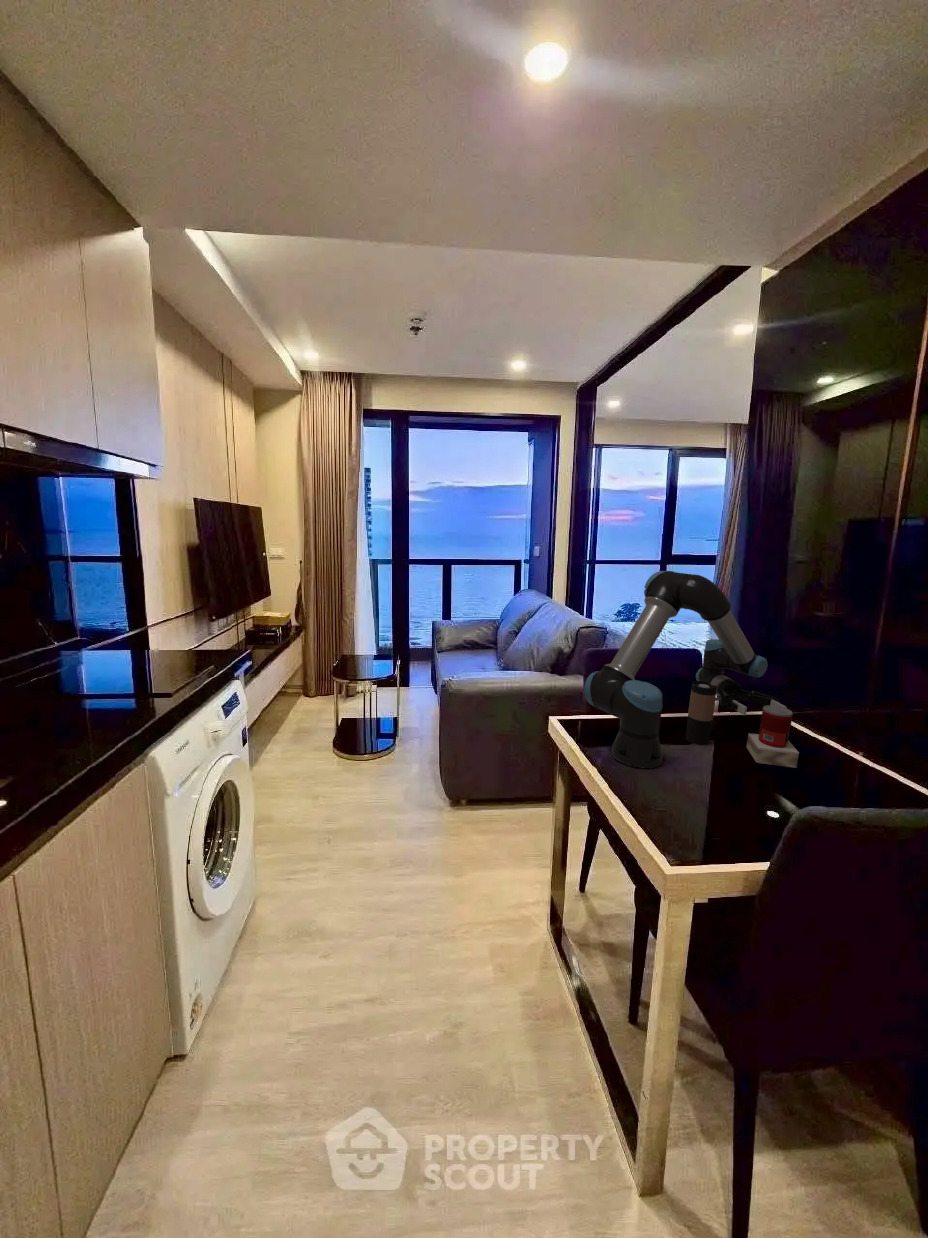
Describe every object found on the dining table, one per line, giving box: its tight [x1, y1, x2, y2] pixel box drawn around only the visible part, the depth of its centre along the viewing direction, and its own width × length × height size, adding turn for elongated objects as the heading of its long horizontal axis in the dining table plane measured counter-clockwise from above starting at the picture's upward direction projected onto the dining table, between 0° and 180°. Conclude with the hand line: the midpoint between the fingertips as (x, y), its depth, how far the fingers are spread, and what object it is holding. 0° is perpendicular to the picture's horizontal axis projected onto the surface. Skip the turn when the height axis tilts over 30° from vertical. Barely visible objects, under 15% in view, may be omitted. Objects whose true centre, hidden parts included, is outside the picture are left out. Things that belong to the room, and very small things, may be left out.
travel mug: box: [685, 680, 717, 746], centre depth 168 cm, size 8×8×20 cm
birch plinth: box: [746, 732, 800, 769], centre depth 159 cm, size 11×11×5 cm
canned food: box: [758, 705, 794, 748], centre depth 157 cm, size 8×8×11 cm
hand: (765, 711), depth 162 cm, fingers open, 13 cm apart
